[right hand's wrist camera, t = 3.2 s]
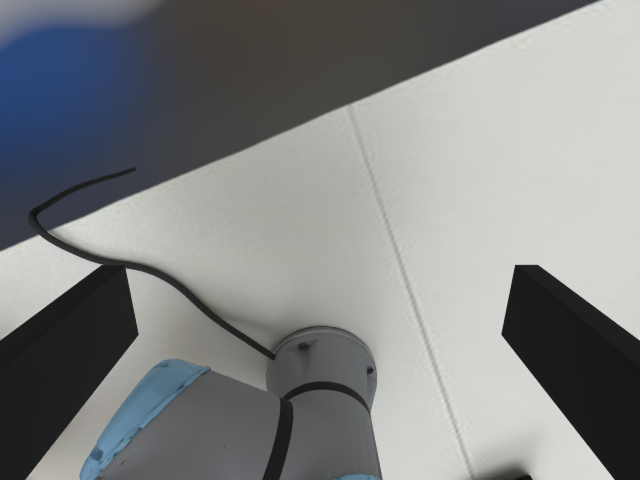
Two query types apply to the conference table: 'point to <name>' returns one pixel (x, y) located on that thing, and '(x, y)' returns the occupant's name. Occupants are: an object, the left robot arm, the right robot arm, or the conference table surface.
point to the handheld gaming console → (526, 478)
